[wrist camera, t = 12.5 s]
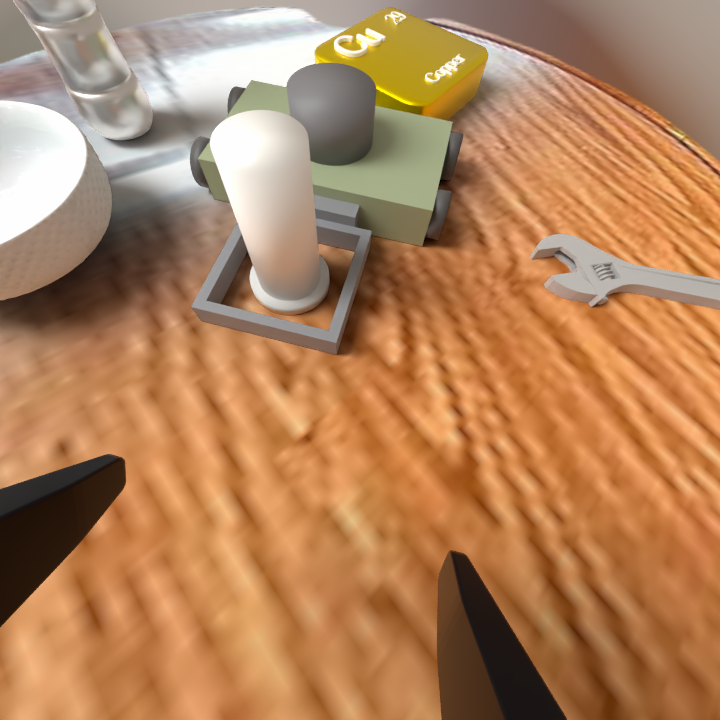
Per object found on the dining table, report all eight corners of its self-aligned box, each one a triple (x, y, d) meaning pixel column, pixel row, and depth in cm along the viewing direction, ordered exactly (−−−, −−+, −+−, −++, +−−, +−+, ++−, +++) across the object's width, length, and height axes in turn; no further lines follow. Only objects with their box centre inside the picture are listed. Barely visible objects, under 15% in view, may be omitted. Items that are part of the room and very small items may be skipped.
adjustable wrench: (805, 307, 31) (831, 296, 29) (825, 370, 28) (855, 361, 27) (532, 240, 32) (542, 226, 31) (528, 294, 30) (538, 282, 28)
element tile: (413, 152, 37) (422, 104, 32) (309, 95, 40) (305, 44, 36) (481, 93, 42) (498, 44, 38) (385, 47, 45) (389, -3, 41)
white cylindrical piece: (277, 328, 27) (232, 201, 16) (238, 273, 29) (174, 126, 18) (344, 291, 28) (346, 153, 17) (303, 241, 30) (282, 89, 19)
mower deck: (409, 373, 26) (436, 318, 18) (133, 303, 27) (55, 226, 20) (452, 164, 36) (481, 74, 28) (250, 120, 37) (227, 24, 29)
